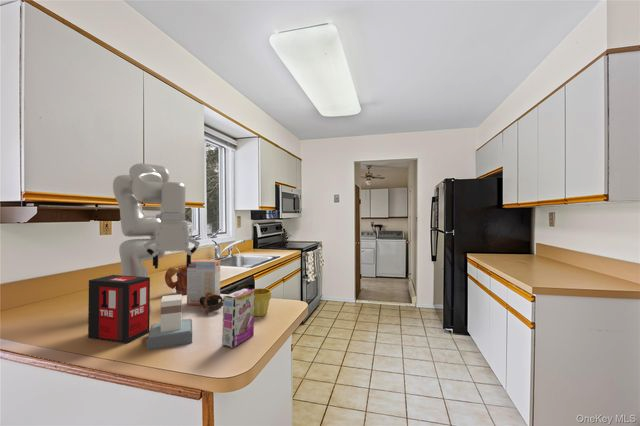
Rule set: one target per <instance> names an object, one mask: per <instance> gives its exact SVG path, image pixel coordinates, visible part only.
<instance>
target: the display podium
mask: <svg viewBox="0 0 640 426" xmlns="http://www.w3.org/2000/svg"><path fill="white" fill-rule="evenodd" d="M147 335H148V336H147V337H146V351H151V350H152V351H153V350H158V349H164V348H169V347H174V346H176V347H177V346H183V345H189V344H192V343H193V320H192V318H185V319H181V329H179V330H172V331H165V332H161V321H160V322H154V323H153V324H151V325H150V328H149V333H148V334H147Z"/></svg>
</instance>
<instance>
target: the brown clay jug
mask: <svg viewBox="0 0 640 426" xmlns="http://www.w3.org/2000/svg"><path fill="white" fill-rule="evenodd" d="M208 299H210V300H208ZM219 299H220V302H218V301H219ZM199 302H200V304H201V305H200V306H202V308H203V309H205V310H204V314H206V315H209V313H210V314H211V313H213V312H217V311H219V309H222V308H223V296H221V294H220V295H217V294H212V295H209V296H208V297H201V298H200V300H199ZM207 305H208V306H207Z"/></svg>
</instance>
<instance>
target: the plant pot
mask: <svg viewBox="0 0 640 426" xmlns="http://www.w3.org/2000/svg"><path fill="white" fill-rule="evenodd" d="M251 290H255V298H254V317H262V316H265V315H267V314H268V309H269V305H270V300H271V299H272V290H271V289H269V288H264V287H262V288H259V287H258V288H252V289H251Z"/></svg>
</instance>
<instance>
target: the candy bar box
mask: <svg viewBox="0 0 640 426" xmlns="http://www.w3.org/2000/svg"><path fill="white" fill-rule="evenodd" d="M254 298H255V290H252V289H250V288H242V289H240V290H236V291H234V292H231V293H227V294H226V295H223V296H222V299H223V306H222V338H221V340H222V342H221V345H222V346H223V347H225V348H230V349H234V348H235V347H237V346H239V345H240V344H242V343H244V342H246V341H247V340H249V339H250V338H251V337H253V336H254V332H255V331H254V328H255V326H254V325H255V316H254Z"/></svg>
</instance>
